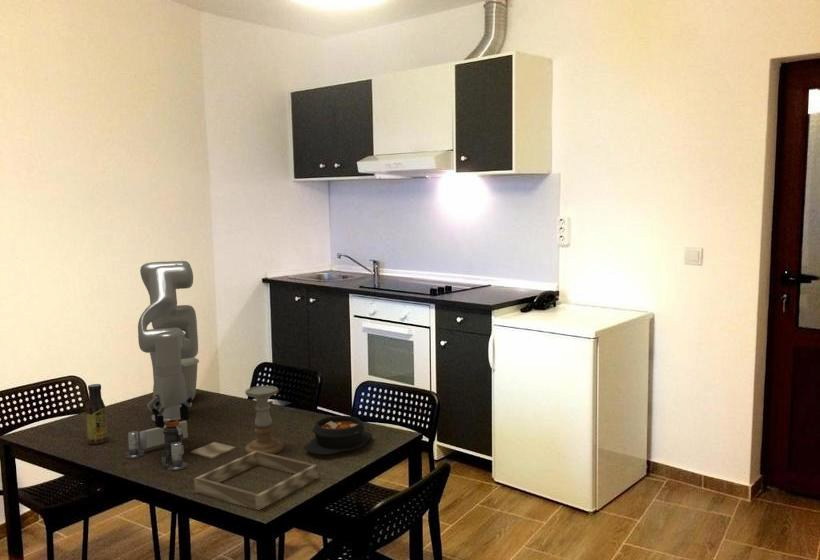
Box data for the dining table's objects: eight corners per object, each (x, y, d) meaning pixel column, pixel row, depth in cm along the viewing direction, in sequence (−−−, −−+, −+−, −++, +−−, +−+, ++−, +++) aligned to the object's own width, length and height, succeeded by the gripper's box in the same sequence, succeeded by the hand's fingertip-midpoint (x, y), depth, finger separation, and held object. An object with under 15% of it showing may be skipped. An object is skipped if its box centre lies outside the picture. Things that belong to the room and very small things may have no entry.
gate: (142, 449, 222) (141, 433, 221) (139, 448, 223) (138, 431, 223) (188, 437, 233) (187, 421, 232) (185, 436, 234) (184, 420, 234)
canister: (146, 402, 280) (143, 352, 278) (187, 392, 293) (184, 344, 291) (168, 411, 268) (165, 358, 265) (209, 400, 281) (206, 350, 279)
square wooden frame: (256, 462, 213) (255, 450, 212) (318, 478, 200) (317, 464, 200) (194, 492, 192) (194, 478, 192) (259, 511, 179) (258, 496, 179)
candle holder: (267, 440, 233) (264, 382, 230) (291, 448, 225) (289, 388, 223) (237, 451, 223) (234, 391, 221) (261, 459, 215) (258, 397, 213)
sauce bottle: (99, 445, 231) (95, 388, 228) (83, 444, 232) (79, 387, 229) (111, 439, 237) (107, 383, 235) (95, 438, 238) (91, 382, 236)
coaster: (214, 443, 230) (214, 441, 230) (235, 448, 225) (235, 447, 225) (190, 453, 222) (190, 451, 222) (212, 458, 217) (212, 457, 217)
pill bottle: (187, 453, 222) (185, 419, 221) (172, 459, 217) (170, 425, 216) (175, 450, 225) (173, 416, 224) (160, 456, 220) (158, 422, 219)
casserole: (332, 465, 210) (331, 438, 209) (291, 452, 222) (290, 427, 221) (385, 441, 230) (384, 417, 229) (345, 431, 241) (344, 407, 240)
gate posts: (120, 456, 220) (118, 434, 219) (136, 450, 225) (134, 428, 224) (176, 472, 207) (174, 448, 206) (191, 465, 212) (190, 442, 211)
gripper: (182, 364, 227) (185, 414, 228) (138, 375, 212) (141, 429, 214) (198, 366, 223) (201, 417, 225) (154, 377, 208) (157, 432, 210)
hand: (172, 423), depth 219 cm, fingers open, 9 cm apart
